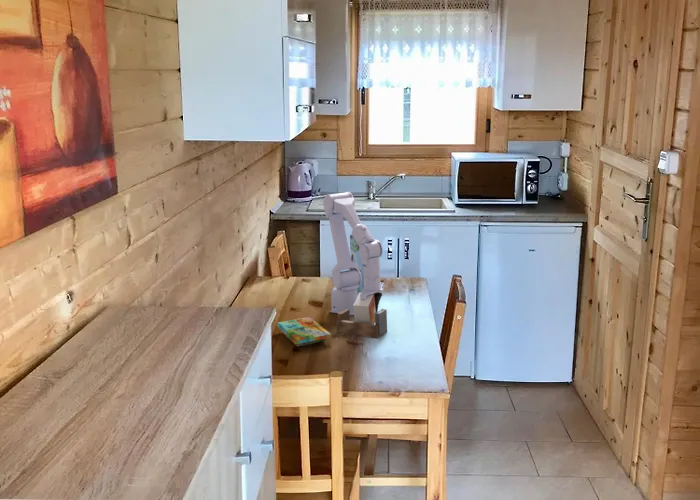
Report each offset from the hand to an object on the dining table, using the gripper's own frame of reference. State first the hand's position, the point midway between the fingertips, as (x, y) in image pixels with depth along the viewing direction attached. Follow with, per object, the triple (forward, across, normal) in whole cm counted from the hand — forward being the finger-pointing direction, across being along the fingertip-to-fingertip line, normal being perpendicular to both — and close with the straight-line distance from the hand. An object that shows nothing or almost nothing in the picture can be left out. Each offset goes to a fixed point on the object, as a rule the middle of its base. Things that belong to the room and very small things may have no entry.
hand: (373, 313), depth 246 cm
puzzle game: (+4, -22, +15) cm, 27 cm away
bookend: (+4, -8, -7) cm, 11 cm away
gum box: (+4, +29, +20) cm, 35 cm away
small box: (+3, -4, +1) cm, 5 cm away
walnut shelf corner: (+4, -8, 0) cm, 9 cm away
